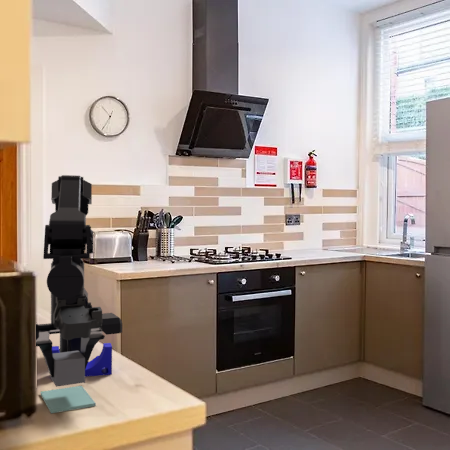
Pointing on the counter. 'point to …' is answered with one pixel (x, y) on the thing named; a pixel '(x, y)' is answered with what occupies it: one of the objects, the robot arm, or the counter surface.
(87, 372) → the blue arched bracket
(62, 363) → the gray cube block
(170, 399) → the counter surface
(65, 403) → the teal board
